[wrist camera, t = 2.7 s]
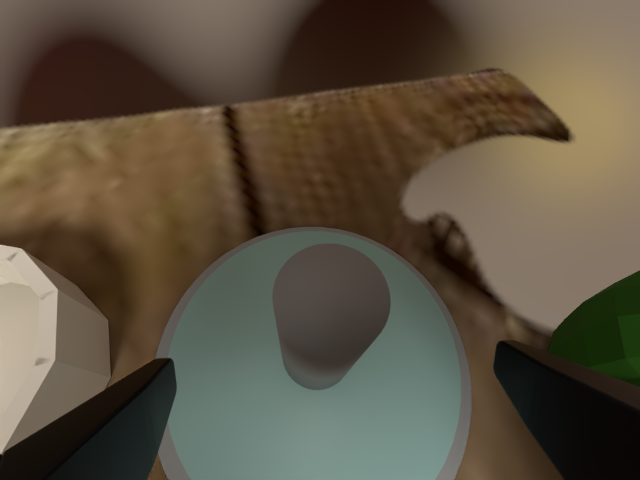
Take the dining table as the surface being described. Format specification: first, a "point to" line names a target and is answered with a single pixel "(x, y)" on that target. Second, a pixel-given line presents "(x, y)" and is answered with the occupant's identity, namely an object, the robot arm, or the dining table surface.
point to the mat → (447, 474)
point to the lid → (314, 367)
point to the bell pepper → (604, 332)
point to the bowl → (45, 346)
